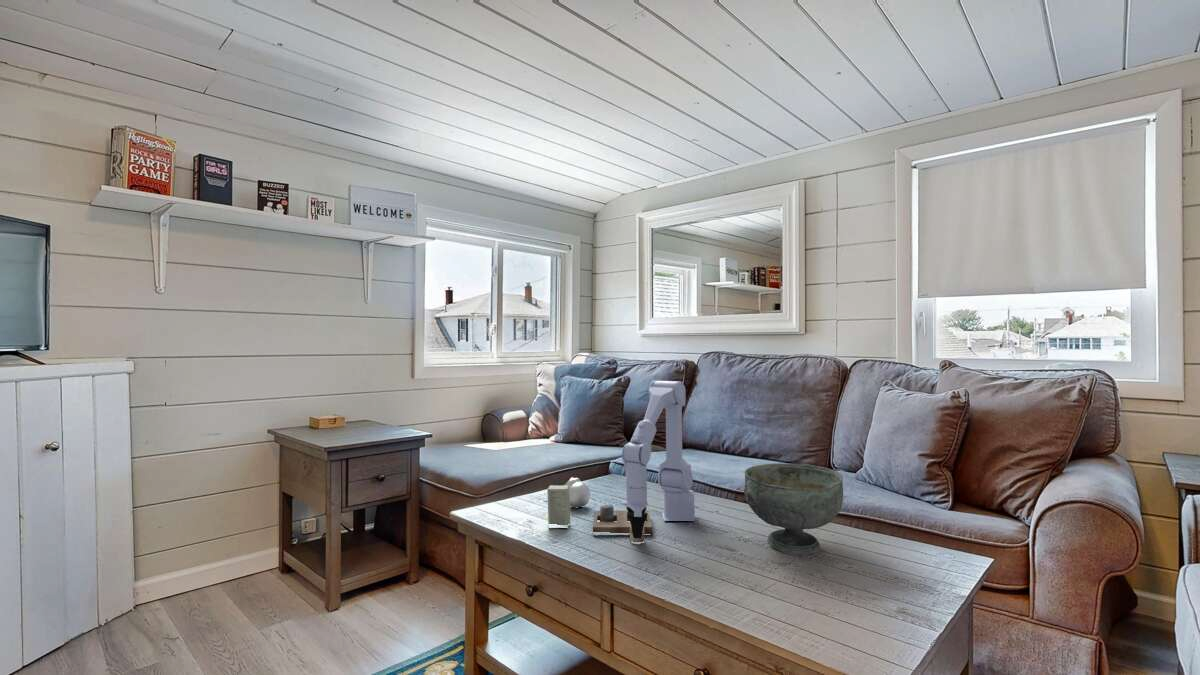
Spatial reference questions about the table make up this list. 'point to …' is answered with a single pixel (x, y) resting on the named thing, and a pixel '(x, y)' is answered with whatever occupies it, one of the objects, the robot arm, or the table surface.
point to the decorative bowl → (794, 502)
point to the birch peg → (636, 538)
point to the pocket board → (621, 526)
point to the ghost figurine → (578, 492)
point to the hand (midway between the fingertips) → (637, 535)
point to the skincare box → (558, 504)
